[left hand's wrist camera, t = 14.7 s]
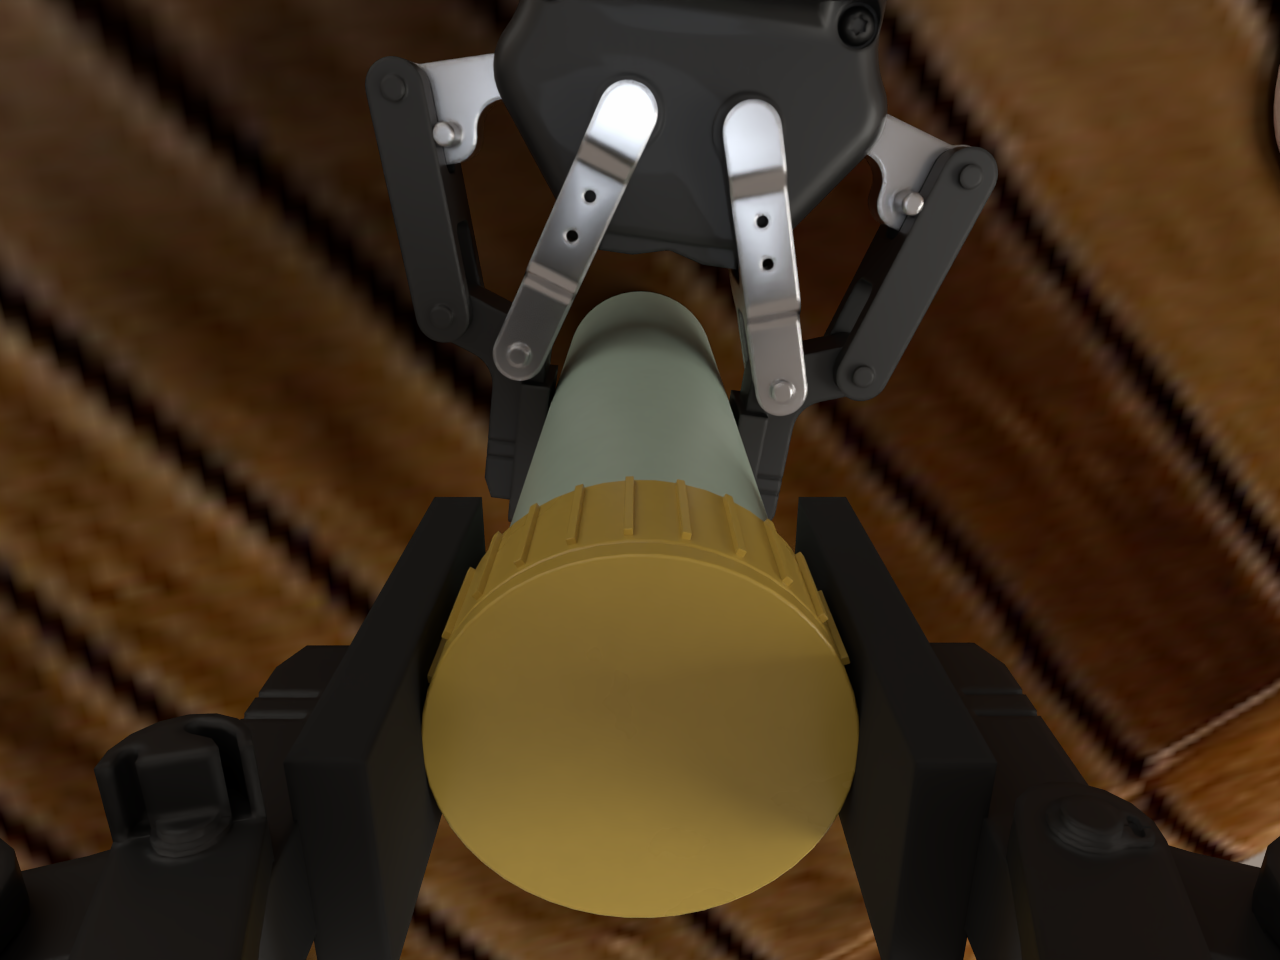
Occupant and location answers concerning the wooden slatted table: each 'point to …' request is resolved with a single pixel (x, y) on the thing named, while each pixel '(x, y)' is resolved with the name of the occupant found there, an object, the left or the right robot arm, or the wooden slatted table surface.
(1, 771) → the wooden slatted table surface
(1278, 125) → the anatomical model
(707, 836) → the lid
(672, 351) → the pale green cylindrical bottle
